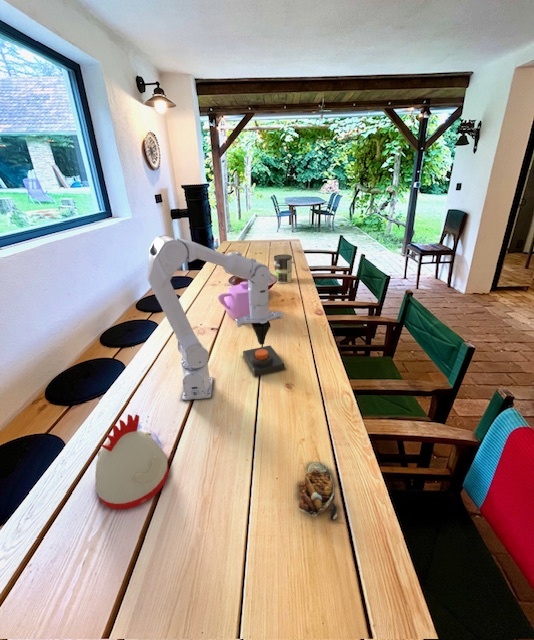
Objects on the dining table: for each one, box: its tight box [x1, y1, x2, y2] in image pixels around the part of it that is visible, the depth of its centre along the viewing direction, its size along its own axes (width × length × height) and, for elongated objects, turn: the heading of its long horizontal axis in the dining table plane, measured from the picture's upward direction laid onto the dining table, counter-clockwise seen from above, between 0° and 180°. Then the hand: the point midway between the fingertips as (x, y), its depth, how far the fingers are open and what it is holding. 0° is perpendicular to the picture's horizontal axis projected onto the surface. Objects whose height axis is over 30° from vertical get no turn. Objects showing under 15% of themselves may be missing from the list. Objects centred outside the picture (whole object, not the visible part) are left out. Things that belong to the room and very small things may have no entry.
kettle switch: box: [242, 345, 286, 377], centre depth 105 cm, size 13×10×4 cm
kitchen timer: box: [94, 414, 170, 511], centre depth 64 cm, size 14×14×15 cm
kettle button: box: [255, 349, 268, 360], centre depth 102 cm, size 4×4×2 cm
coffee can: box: [273, 254, 293, 284], centre depth 183 cm, size 10×10×14 cm
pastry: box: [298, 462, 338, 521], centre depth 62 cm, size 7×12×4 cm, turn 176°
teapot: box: [217, 281, 250, 321], centre depth 136 cm, size 23×21×15 cm
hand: (261, 342), depth 101 cm, fingers closed
